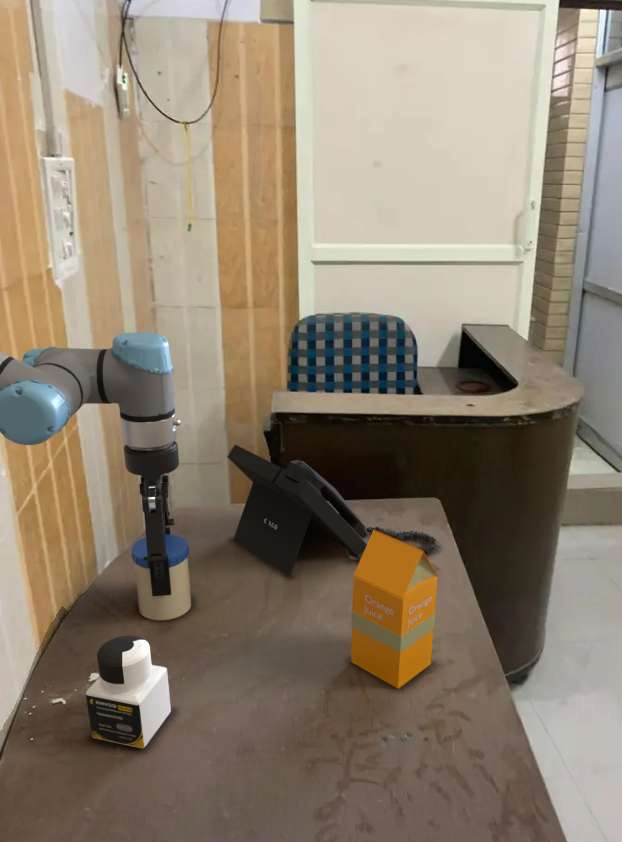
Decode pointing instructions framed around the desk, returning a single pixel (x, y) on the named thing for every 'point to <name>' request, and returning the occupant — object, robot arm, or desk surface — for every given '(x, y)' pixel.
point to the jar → (166, 604)
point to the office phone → (297, 512)
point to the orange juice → (393, 610)
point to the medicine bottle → (127, 693)
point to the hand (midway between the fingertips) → (163, 579)
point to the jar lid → (174, 549)
